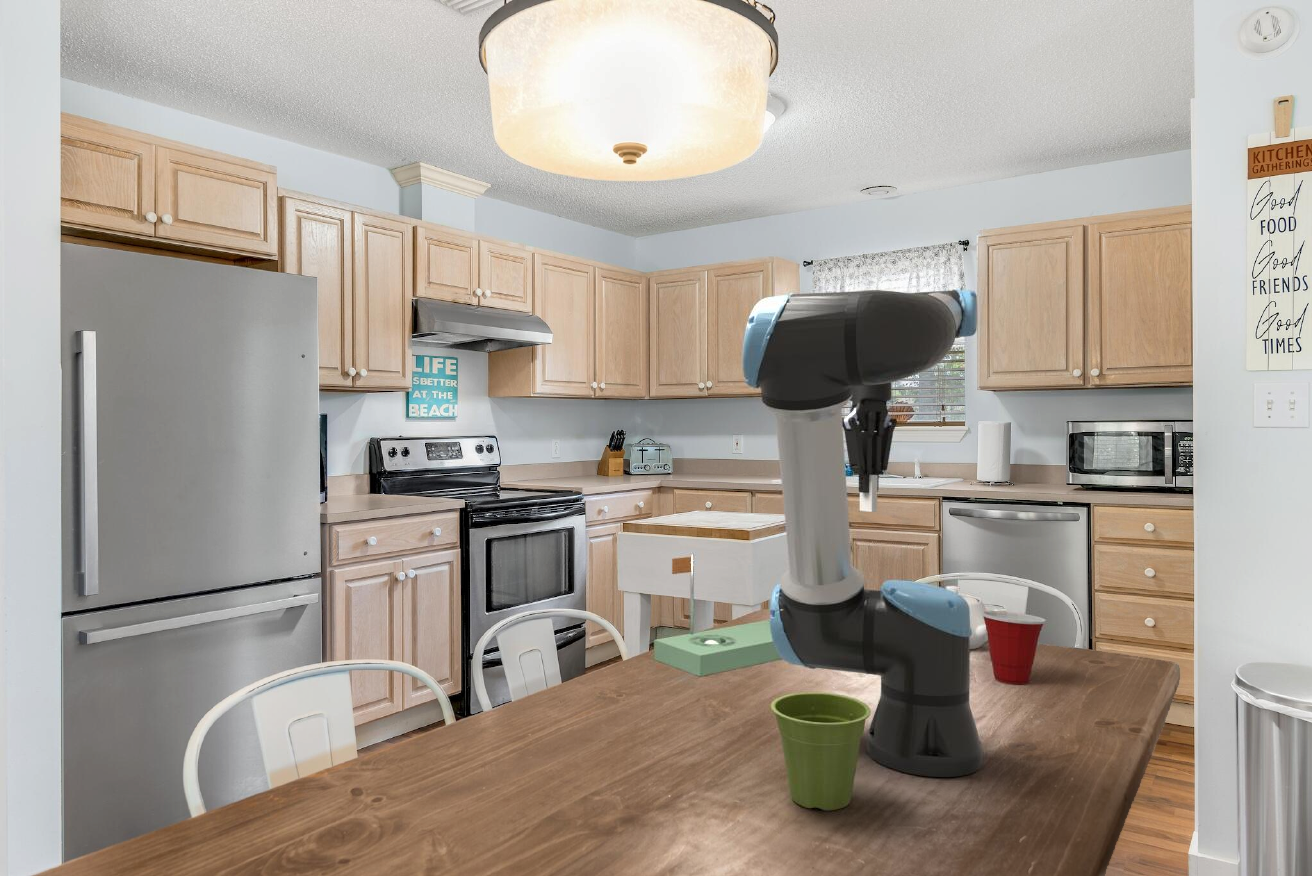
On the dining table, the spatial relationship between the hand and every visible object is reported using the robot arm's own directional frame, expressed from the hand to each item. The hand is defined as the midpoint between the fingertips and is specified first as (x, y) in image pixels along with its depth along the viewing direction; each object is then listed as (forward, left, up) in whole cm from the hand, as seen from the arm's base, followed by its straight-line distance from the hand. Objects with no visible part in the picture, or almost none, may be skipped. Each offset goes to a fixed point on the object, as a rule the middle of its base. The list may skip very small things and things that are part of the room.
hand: (868, 510), depth 153 cm
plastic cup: (+22, -15, -31) cm, 41 cm away
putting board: (-7, +26, -30) cm, 41 cm away
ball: (-14, +26, -28) cm, 41 cm away
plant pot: (-44, -29, -31) cm, 61 cm away
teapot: (+36, +6, -31) cm, 48 cm away
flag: (-16, +32, -27) cm, 45 cm away
